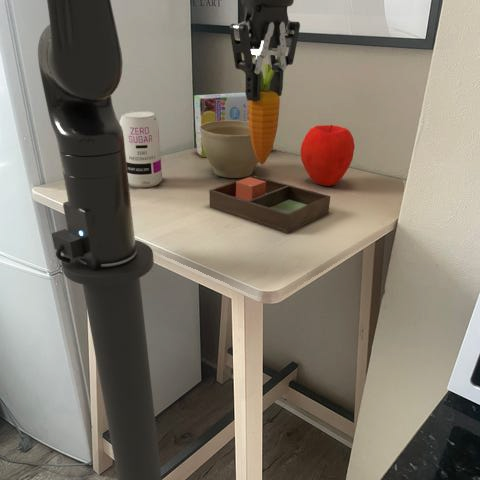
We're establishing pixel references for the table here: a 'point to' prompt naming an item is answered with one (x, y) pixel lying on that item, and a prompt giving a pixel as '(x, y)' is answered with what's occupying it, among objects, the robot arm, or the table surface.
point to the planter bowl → (229, 148)
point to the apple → (327, 153)
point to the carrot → (264, 118)
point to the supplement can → (142, 148)
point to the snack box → (218, 111)
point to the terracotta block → (250, 188)
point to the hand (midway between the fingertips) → (264, 97)
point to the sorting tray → (273, 205)
